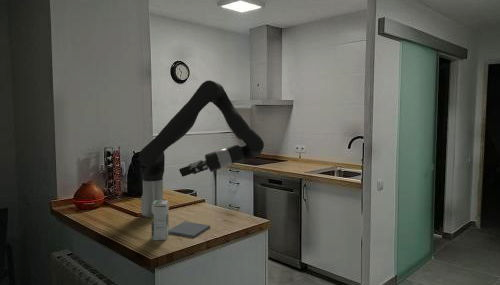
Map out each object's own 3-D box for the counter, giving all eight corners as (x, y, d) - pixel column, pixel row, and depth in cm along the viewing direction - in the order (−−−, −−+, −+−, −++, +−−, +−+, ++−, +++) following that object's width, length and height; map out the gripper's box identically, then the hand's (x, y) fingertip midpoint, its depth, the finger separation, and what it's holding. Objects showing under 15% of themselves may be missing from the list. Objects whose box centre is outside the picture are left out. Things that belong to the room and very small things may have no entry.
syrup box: (154, 235, 138) (153, 200, 137) (169, 234, 139) (168, 199, 137) (151, 240, 133) (150, 204, 131) (166, 240, 133) (166, 203, 132)
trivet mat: (166, 233, 141) (166, 230, 141) (184, 223, 153) (184, 221, 153) (193, 238, 136) (193, 235, 136) (210, 227, 148) (210, 225, 148)
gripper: (212, 150, 148) (176, 162, 144) (218, 152, 135) (178, 165, 131) (218, 166, 149) (182, 179, 145) (224, 170, 136) (184, 184, 132)
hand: (180, 172), depth 138 cm, fingers open, 8 cm apart
